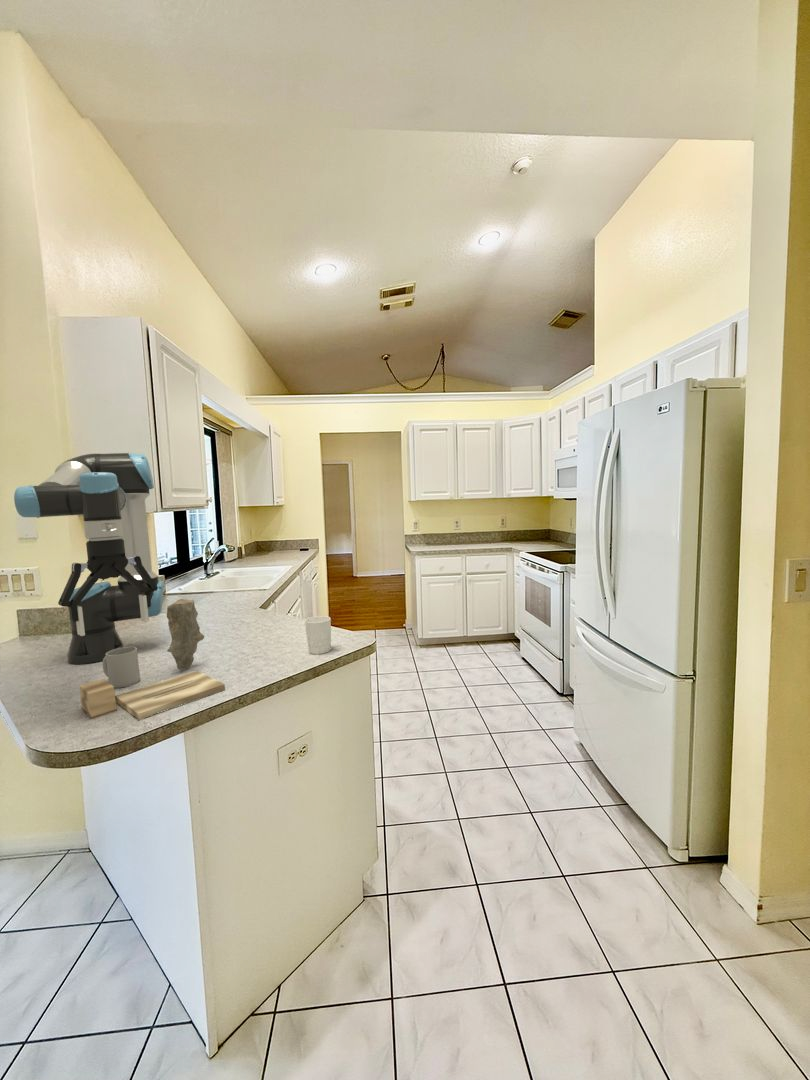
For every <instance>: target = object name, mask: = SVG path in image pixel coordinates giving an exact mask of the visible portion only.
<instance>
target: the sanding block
mask: <svg viewBox="0 0 810 1080" xmlns="http://www.w3.org/2000/svg"><path fill="white" fill-rule="evenodd" d="M79 694H80V701H81V702H80V704H81V707H80V708H81V710H82V712H84V714H85V715H86V716H87V717H88V718H89V719H91V720H94V719H97V718H100V717H103V716H106V715H110V714H112V713H115V712H118V708H117V702H116V701H115V696H116V693H115V688H114V686H112V685H111V684H110V683H109V681H107V680H106V679H105V678H101V679H98V680H93V681H91V682H87V683H84V684H80V685H79Z"/></svg>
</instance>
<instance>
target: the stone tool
mask: <svg viewBox="0 0 810 1080" xmlns="http://www.w3.org/2000/svg"><path fill="white" fill-rule="evenodd" d="M166 609H167V612H166V619H167V620H168V630H169V633H170V636H171V643H170V645H169V647H168V649H167V650H166V652H168V653H171V655H172V657H173V659H174V660H175V663H176V668H177V669H178V671H183V670H188V669H189V668H190V667H191V666H192V664H193V662H194V661H195V659H194V658H195V657H194V654H195V653H196V652H197V648H198V644H199V642H200V641H203V640H204V639H205V635H204V634H203V633H201V631H200V626H199V623H198V619H197V618H198V614H199V613H198V611H197V608H196V607H195V601H194V600H193V599H184V598H181V599H178V600H176V601H175V602H173V603H172V604H170V605H168V606H167V608H166Z"/></svg>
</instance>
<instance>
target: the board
mask: <svg viewBox="0 0 810 1080" xmlns="http://www.w3.org/2000/svg"><path fill="white" fill-rule="evenodd" d="M225 690H226V685H225V683H224V682H221V681H219V680H218V679H215V678H213V677H211V676H209V675H207V674H205V673H202V672H200V671H198V670H194V671H191V672H190V671H189V672H187V673H183V674H181V675H178V676H175V677H171V678H167V679H165V680H161V681H159V682H155V683H152V684H149V685H145V686H141V687H139V688H136V689H132V690H130V691H126V692H123V693H119V694H115V701H116V704H118V705H119V706H121V708H123V709H125V710H126V711H127V713H129V714H131V715H132V716H133V717H134V716H135V717H134V718H136V719H137V720H138V721H141V719H142V720H144V719H147V718H150V717H152V716H151V715H153V714H155V713H158V712H161V711H164V710H167V709H170V708H172V709H174V708H173V707H175V708H177V707H176V706H178V707H180V706H179V705H181V704H184V703H186V704H188V703H187V702H189V703H191V702H190V701H192V702H194V701H193V700H195V701H197V700H196V699H198V700H199V698H201V699H203V698H205V696H206V697H209V696H212V695H215V694H216V692H217V693H220V692H223V691H225ZM219 691H220V692H219ZM214 693H215V694H214ZM211 694H212V695H211ZM208 695H209V696H208ZM202 697H203V698H202ZM184 705H185V704H184ZM181 706H182V705H181ZM170 710H171V709H170ZM167 711H168V710H167ZM164 712H165V711H164ZM161 713H162V712H161ZM158 714H159V713H158ZM149 716H150V717H149ZM153 716H154V715H153ZM146 717H147V718H146ZM143 718H144V719H143Z"/></svg>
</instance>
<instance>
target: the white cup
mask: <svg viewBox="0 0 810 1080" xmlns="http://www.w3.org/2000/svg"><path fill="white" fill-rule="evenodd" d="M331 622H332V620H331V616H327V615H326V616H325V615H318V616H316V615H315V616H311V617H308V618H306V619H305V620H304V626H305V633H306V634H305V635H306V643H307V646H308V647H307V648H308V652H309V653H310V654H313V655H322V654H326V653H329V652H330V651H331V649H332V643H331V642H332V623H331Z"/></svg>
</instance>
